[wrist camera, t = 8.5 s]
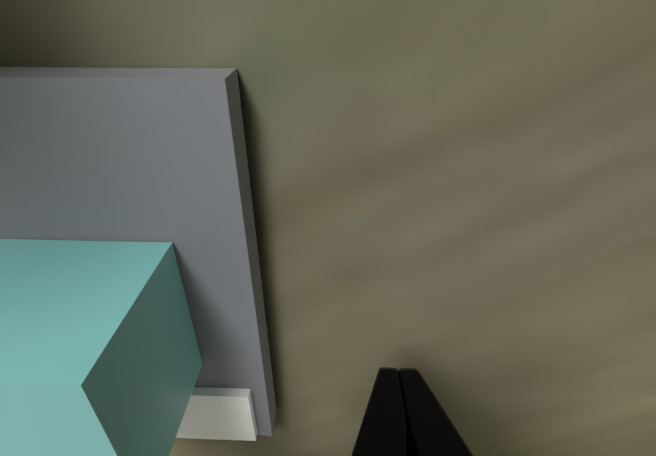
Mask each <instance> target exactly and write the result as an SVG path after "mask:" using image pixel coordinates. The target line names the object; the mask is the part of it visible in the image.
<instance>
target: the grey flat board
mask: <svg viewBox="0 0 656 456" xmlns="http://www.w3.org/2000/svg"><path fill="white" fill-rule="evenodd" d="M0 239H32V240H78V241H125V242H171V243H172V244H173V248H174V252H175V256H176V260H177V264H178V268H179V272H180V276H181V280H182V284H183V288H184V291H185V295H186V299H187V303H188V307H189V311H190V315H191V319H192V323H193V327H194V331H195V335H196V339H197V343H198V347H199V351H200V355H201V359H202V363H203V364H202V367H201V369H200V372H199V375H198V378H197V380H196V383H195V386H194V389H193V391H192V394H191V397H190V399H189V402H188V405H187V408H186V410H185V413H184V416H183V419H182V421H181V424H180V427H179V429H178V432H177V435H176V438H192V439H218V440H244V441H256V438H257V436H272V435H273V429H274V422H275V416H276V402H275V393H274V385H273V376H272V368H271V359H270V350H269V342H268V333H267V324H266V316H265V307H264V299H263V290H262V281H261V273H260V264H259V256H258V247H257V238H256V230H255V221H254V213H253V204H252V195H251V187H250V178H249V170H248V161H247V152H246V144H245V135H244V127H243V118H242V109H241V101H240V92H239V83H238V75H237V68H129V67H0Z"/></svg>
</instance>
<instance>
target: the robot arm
mask: <svg viewBox="0 0 656 456" xmlns="http://www.w3.org/2000/svg"><path fill="white" fill-rule="evenodd" d="M352 456H473V454H472V453H471V451H470V450H469V448H468V447H467V445H466V444H465V442H464V440H463V439H462V437H461V436H460V434H459V433H458V431H457V430H456V428H455V427H454V425H453V423H452V422H451V420H450V419H449V417H448V416H447V414H446V413H445V411H444V409H443V408H442V406H441V405H440V403H439V402H438V400H437V399H436V397H435V396H434V394H433V392H432V391H431V389H430V388H429V386H428V385H427V383H426V382H425V380H424V379H423V377H422V375H421V374H420V372H419V371H418V370H417V369H414V368H400V369H399V370H397V369H396V368H385V367H382V368H380V369H379V371H378V374H377V377H376V380H375V383H374V386H373V389H372V393H371V396H370V399H369V402H368V405H367V408H366V411H365V415H364V418H363V421H362V424H361V427H360V430H359V434H358V437H357V440H356V443H355V446H354V449H353V453H352Z"/></svg>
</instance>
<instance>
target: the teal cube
mask: <svg viewBox="0 0 656 456" xmlns="http://www.w3.org/2000/svg"><path fill="white" fill-rule="evenodd" d="M202 364H203V363H202V359H201V355H200V351H199V347H198V343H197V339H196V335H195V331H194V327H193V323H192V319H191V315H190V311H189V307H188V303H187V299H186V295H185V291H184V288H183V284H182V280H181V276H180V272H179V268H178V264H177V260H176V256H175V252H174V248H173V244H172V243H171V242H125V241H78V240H32V239H0V456H169V454H170V451H171V449H172V446H173V443H174V440H175V438H176V435H177V432H178V429H179V427H180V424H181V421H182V419H183V416H184V413H185V410H186V408H187V405H188V402H189V399H190V397H191V394H192V391H193V389H194V386H195V383H196V380H197V378H198V375H199V372H200V369H201V367H202Z"/></svg>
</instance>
